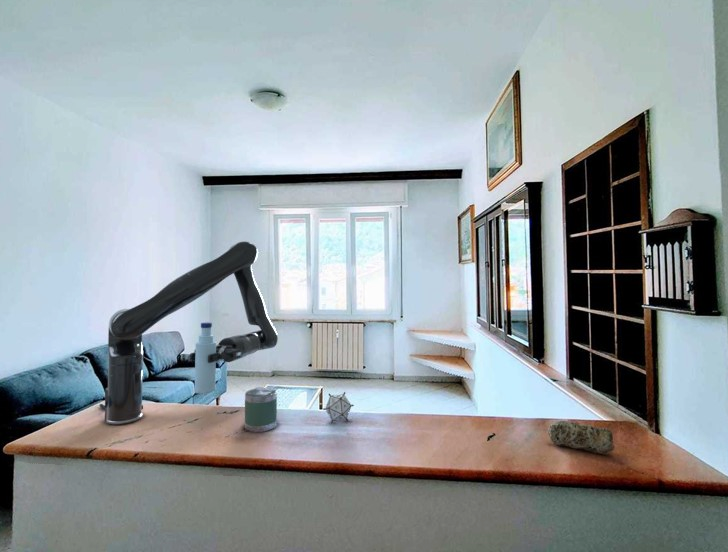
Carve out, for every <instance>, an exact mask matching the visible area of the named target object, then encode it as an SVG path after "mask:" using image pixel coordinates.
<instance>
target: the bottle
mask: <svg viewBox="0 0 728 552" xmlns="http://www.w3.org/2000/svg"><path fill="white" fill-rule="evenodd" d="M212 327H213V323H212V322H201V323H200V328H201V332H200V333H201V335H198V341H197V342H195V349H196V351H195V350H194V352H195V361H194V394H199V395H200V394H201V395H207V394H210V393H213V392H215V391H216V379H217V378H216V374H217V361H215V362H212V363H208V355H210V354H214V353H216V345H217V341H215V340H214V334H212Z"/></svg>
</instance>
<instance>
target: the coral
mask: <svg viewBox="0 0 728 552" xmlns="http://www.w3.org/2000/svg"><path fill="white" fill-rule="evenodd" d="M547 433H548V436H549V439H550V441H551V443H552V444H553V445H555V446H560V447H561V446H562V447H568V448H572V449H575V450H581V451H586V452H591V453H594V454H599V455H608V454H609V453H611V452H613V451H614V450H615V445H614V441H613V440H614V435H613V431H612V430H610V429H609V428H605V427H600V426H595V425H590V424H582V423H577V422H572V421H566V420H562V419H561V420H557V421H554V422H552V423H551V424H550V425H549V427H548V429H547Z"/></svg>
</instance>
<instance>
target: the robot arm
mask: <svg viewBox="0 0 728 552" xmlns="http://www.w3.org/2000/svg"><path fill="white" fill-rule="evenodd" d="M258 253H259V252H258V248H257V247H256V245H255V244H254V243H252V242H250V241H244V240H243V241H238V242H236V243H235V244H233V245H231V246H230V247H229V249H228V250H227V251H225V252H224V253H223V254H221V255H219V256H218V257H216V258H215V259H212V260H210V261H208V262H206V263H203V264H200V265H199V266H197V267H194V268H192V269H191V270H189V271H187V272H185V273H183V274H181V275H180V276H178V277H176V278H175V279H173V280H172V281H170V282H169V283H168V284H167V285H166V286H164V287H163V288H162V289H161V290H160V291H158V292H157V293H156V294H154V295H153V296H151V297H150V298H149V299H147V300H146V301H144V302H141V303H139V304H138V305H136V306H134V307H131V308H123V309H122V308H121V309H119V310H117V311H116V312H114V313H113V314H112V316H111V317H110V319H109V321H108V335H107V336H108V337H107V341H108V343H107V354H108V357H107V358H108V360H107V361H108V362H107V363H108V365H107V369H108V370H107V387H106V388H105V391H104V404H103V403H100V404H99V407H100V408H101V409H103V410H104V421H105V422H106V424H109V425H126V424H130V423H133V422H136V421H139V420H140V419H142V418H143V410H144V405H143V379H144V377H143V373H144V371H143V369H144V350H143V349H144V348H143V335H144V333H146V332H147V331H148V330H149V329H150V328H152V327H153V326H155V325H156V324H157V323H159V322H160V321H161V320H163V319H164V318H166V317H167V316H170V315H171V314H173V313H175V312H177V311H179V310H181V309H182V308H184V307H186V306H187V305H190V304H191V303H193V302H195V301H196V300H197V299H199V298H201V297H203V296H204V295H205V294H206V293H208V292H209V291H211V290H212V289H213V288H215V287H216V286H217V285H219V284H220V283H222V282H223V281H224V280H225V279H227V278H229V277H230V276H232V275H233V276H234V277H235V280H236V284H237V286H238V289H239V292H240V294H241V295H240V296H241V298H242V299H241V300H242V304H243V307H244V308H243V309H244V312H245V315H246V316H245V317H246V320H247V323H248V324H249V325H251V326H257V327H259V330H254V331H251V332H248V333H244V334H237V335H232V336H229V337H225V338H222V339H221V340H220V341H219V343H218V344H216V353H214V354H210V355H208V363H212V362H215V361H216V362H222V361H223V362H225V363H231V362H234V361H238V360H240V359H243V358H245V357H247V356H250V355H252V354H255V353H256V352H258V351H264V350H268V349H273V348H275V347H276V346H277V344H278V342H279V341H278V340H279V337H278V333H277V331H276V328H275V326H273V323H272V322H271V320H270V318H269V316H268V314H267V313H268V312H267V309H266V305H265V302H264V299H263V296H262V294H261V292H260V289H259V288H258V285H257V283H256V281H255V278H254V275H253V271H252V270H253V269H252V265H253V264H254V263H255V261H257V258H258ZM195 351H196V348H195V349H194V352H191V353H190V354H189V361H190V362H195Z"/></svg>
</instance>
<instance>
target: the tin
mask: <svg viewBox="0 0 728 552" xmlns="http://www.w3.org/2000/svg"><path fill="white" fill-rule="evenodd" d="M277 392H278V391H277V389H276V388H271V387H259V386H257V387H255V388H252V389H249V390H247V391H246V392H245V393H244V429H245V430H246V431H248V432H252V433H262V432H268V431H271V430H273V429H275V428H276V427H277V417H278V415H277V414H278V393H277Z"/></svg>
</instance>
